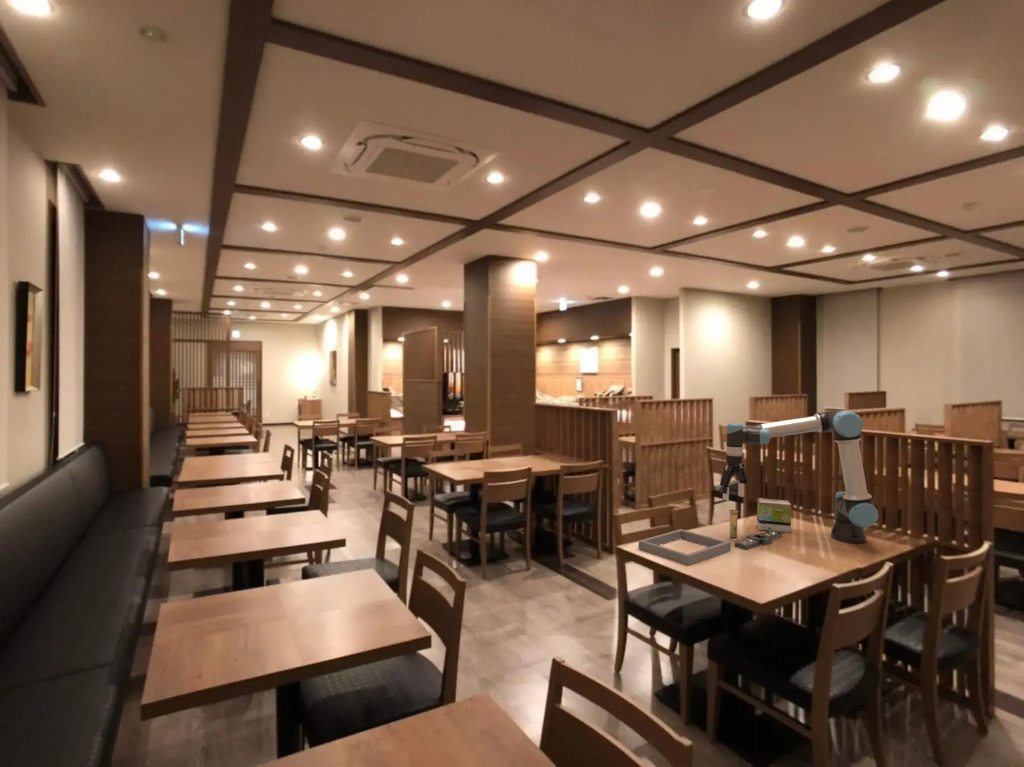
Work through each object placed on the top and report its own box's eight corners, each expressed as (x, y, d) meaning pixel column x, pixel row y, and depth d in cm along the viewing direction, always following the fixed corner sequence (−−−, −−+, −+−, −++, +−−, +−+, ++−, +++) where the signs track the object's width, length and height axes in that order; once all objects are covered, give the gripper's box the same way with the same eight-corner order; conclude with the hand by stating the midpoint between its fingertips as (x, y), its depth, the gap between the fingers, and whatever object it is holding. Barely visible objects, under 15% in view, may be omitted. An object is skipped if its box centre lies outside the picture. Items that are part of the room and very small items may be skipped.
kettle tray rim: (730, 551, 258) (730, 542, 258) (688, 565, 238) (688, 556, 238) (680, 537, 279) (680, 529, 279) (638, 549, 260) (638, 540, 260)
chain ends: (786, 537, 279) (786, 532, 278) (749, 550, 258) (749, 545, 258) (767, 533, 286) (767, 528, 286) (731, 545, 266) (731, 540, 266)
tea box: (759, 530, 291) (759, 502, 291) (756, 525, 301) (757, 497, 301) (791, 533, 287) (791, 504, 287) (787, 527, 297) (788, 499, 296)
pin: (739, 539, 276) (740, 510, 276) (734, 540, 273) (735, 512, 273) (731, 537, 279) (732, 509, 279) (727, 538, 277) (727, 510, 276)
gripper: (741, 451, 286) (740, 493, 287) (712, 456, 271) (712, 500, 271) (755, 453, 280) (754, 496, 281) (727, 458, 265) (726, 503, 265)
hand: (733, 498), depth 276 cm, fingers open, 13 cm apart
